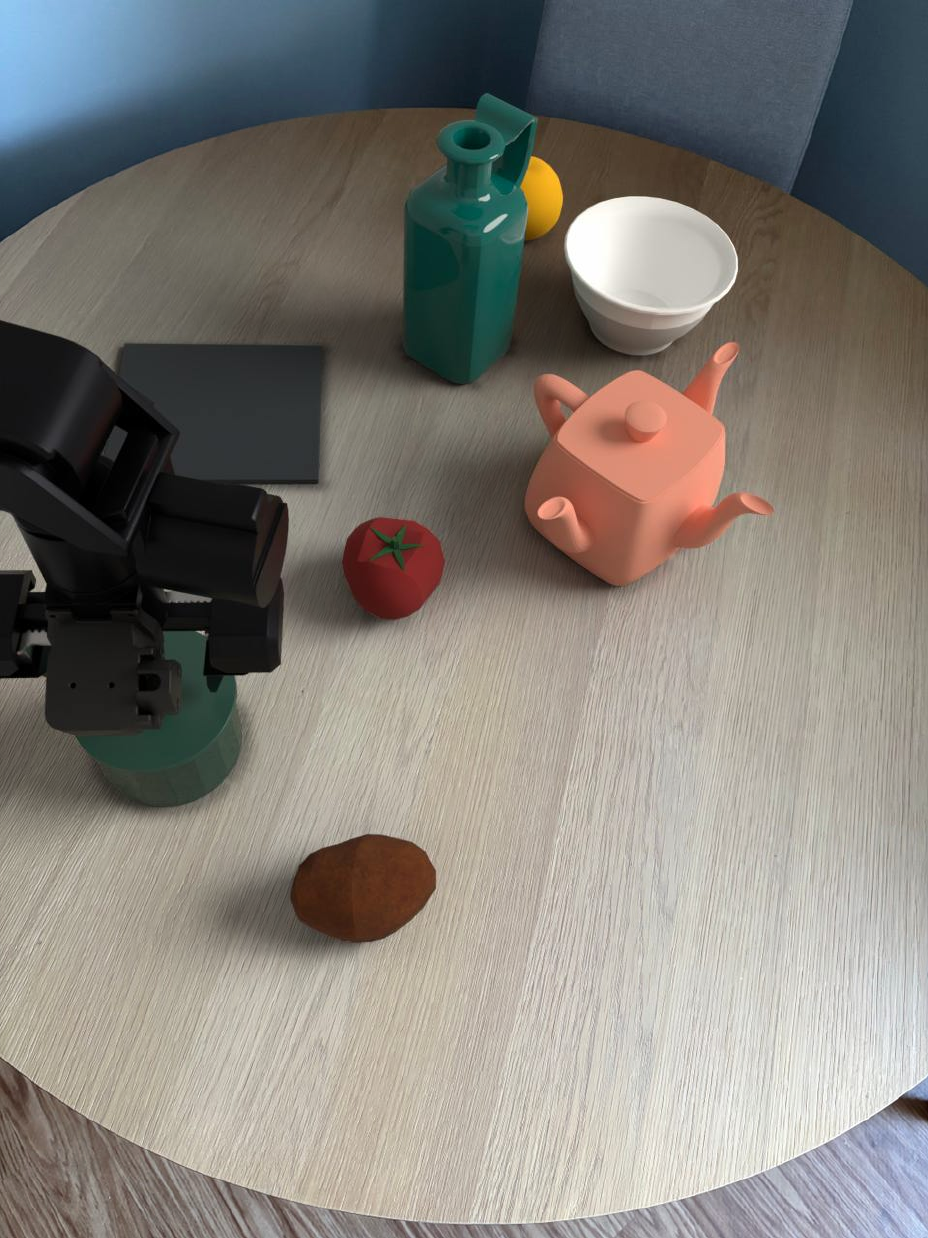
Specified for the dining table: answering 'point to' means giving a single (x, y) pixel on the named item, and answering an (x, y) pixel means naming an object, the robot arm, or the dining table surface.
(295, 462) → the mat
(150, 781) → the tin
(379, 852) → the potato
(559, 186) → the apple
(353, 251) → the dining table surface
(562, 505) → the pot
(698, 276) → the bowl
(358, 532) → the tomato
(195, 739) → the tin lid
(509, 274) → the pitcher
